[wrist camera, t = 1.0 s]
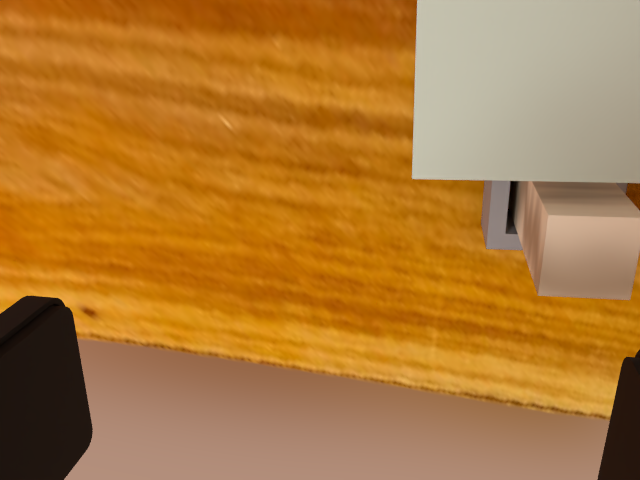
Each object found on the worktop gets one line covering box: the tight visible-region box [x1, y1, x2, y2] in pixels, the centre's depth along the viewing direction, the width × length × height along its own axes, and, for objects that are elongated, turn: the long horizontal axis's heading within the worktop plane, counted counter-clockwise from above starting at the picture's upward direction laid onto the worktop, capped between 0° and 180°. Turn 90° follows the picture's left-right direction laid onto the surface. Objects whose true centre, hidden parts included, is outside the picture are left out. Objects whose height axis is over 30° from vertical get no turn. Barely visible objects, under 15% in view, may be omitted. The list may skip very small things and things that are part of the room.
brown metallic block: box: [508, 181, 640, 300], centre depth 33 cm, size 4×4×12 cm
